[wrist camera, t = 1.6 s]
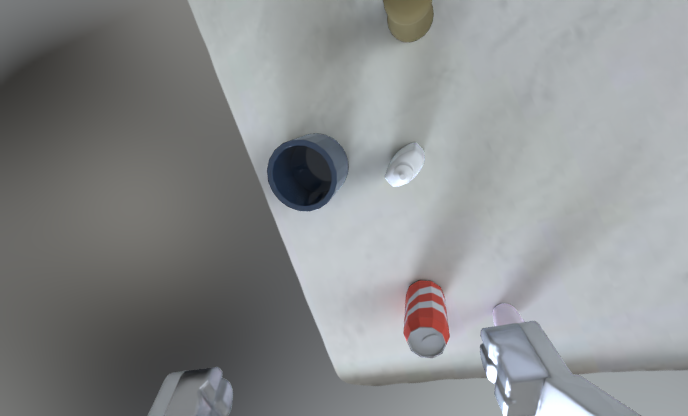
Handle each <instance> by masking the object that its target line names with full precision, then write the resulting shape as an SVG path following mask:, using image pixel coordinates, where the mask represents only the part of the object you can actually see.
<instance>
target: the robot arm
mask: <svg viewBox="0 0 688 416" xmlns="http://www.w3.org/2000/svg"><path fill="white" fill-rule="evenodd" d="M480 336H481V339H482V341H483V343H482V344H481V345H480V355H481V360H482V364H483V367H484V370H485V373H486V375H487V377H488V379H489V380H491V381H492V382H493V383H494V384H495V396H496V399H497V401H498V404H499V406H500V408H501V411H502V413H503V415H504V416H641V415H639V414H638V413H637V412H635V411H634V410H632V409H631V408H629V407H627V406H626V405H624V404H623V403H621V402H620V401H618V400H617V399H615V398H614V397H612V396H611V395H609V394H608V393H606V392H605V391H603V390H602V389H600V388H599V387H597V386H596V385H594V384H593V383H591V382H590V381H588V380H587V379H585V378H584V377H582V376H581V375H579V374H575V375H573V374H572V373H571V371H570V370H569V368H568V367H567V365H566V364H565V362H564V361H563V359H562V358H561V356H560V355H559V353H558V352H557V350H556V349H555V347H554V346H553V344H552V343H551V341H550V340H549V338H548V337H547V335H546V334H545V332H544V331H543V329H542V328H541V326H540V325H539V324H538V323H537V322H536V321H529V322H523V323H517V324H516V323H513V324H507V325H500V326H494V327H488V328H482V330H481V335H480ZM222 374H223V373H222V371H221V370H220V368H219V367H214V368H207V369H199V370H191V371H182V372H175V373H170V374H169V375H168V376H167V377H166V378H165V380H164V382H163V384H162V386H161V388H160V391H159V393H158V395H157V397H156V399H155V401H154V403H153V406H152V408H151V410H150V412H149V414H148V416H228V414H229V413H230V411H231V407H232V403H233V391H232V387H231V384H230V383H229V381H227V380H225V379H223V378H221V377H222Z"/></svg>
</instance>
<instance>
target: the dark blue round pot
mask: <svg viewBox="0 0 688 416" xmlns="http://www.w3.org/2000/svg"><path fill="white" fill-rule="evenodd" d="M348 168H349V165H348V159H347V155H346V153H345V151H344V149H343V148H342V146H341V145H340V144H339V143H338V142H337V141H336V140H335V139H333V138H331V137H330V136H327V135H324V134H319V133H313V134H308V135H305V136H302V137H299V138H296V139H293V140H291V141H288V142H285V143H283V144H281V145H280V146H279V147H278V148H277V149H275V150H274V152H273V154H272V156H271V157H270V159H269V163H268V168H267V174H268V182H269V185H270V187H271V189H272V192H273V193H274V194H275V195H276V197H277V198H278V199H279V200H280V201H281V202H282V203H283V204H285V205H286V206H288V207H290V208H292V209H295V210H298V211H312V210H316V209H319V208H321V207H322V206H324V205H325V204H327V203H328V202H329V201H330V199H331V198H332V197H333V196H334V195H335V194H336V192H337V191H338V190H339V189H340V188H341V186H342V185H343V184H344V182H345V180H346V178H347V175H348Z"/></svg>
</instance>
